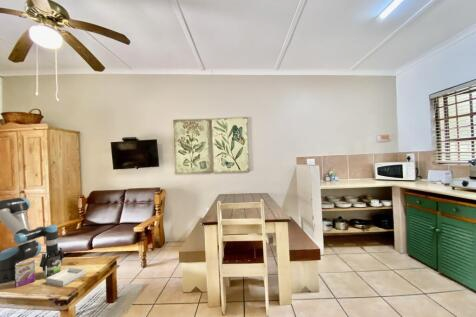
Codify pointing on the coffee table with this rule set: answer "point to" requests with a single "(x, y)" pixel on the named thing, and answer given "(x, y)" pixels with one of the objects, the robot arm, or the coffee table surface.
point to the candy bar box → (24, 273)
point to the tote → (65, 276)
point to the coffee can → (53, 265)
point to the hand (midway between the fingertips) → (52, 270)
